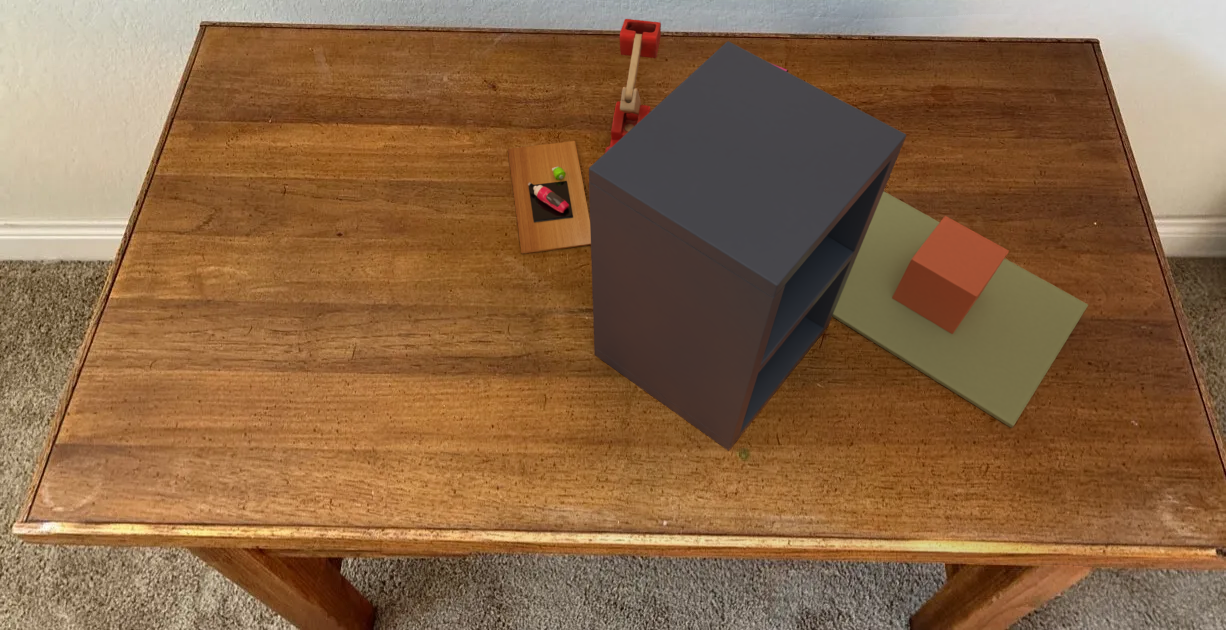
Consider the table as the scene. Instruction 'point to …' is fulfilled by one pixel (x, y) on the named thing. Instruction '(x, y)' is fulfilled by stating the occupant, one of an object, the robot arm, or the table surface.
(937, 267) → the toy block
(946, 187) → the table surface
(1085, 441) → the table surface
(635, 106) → the toy fire truck
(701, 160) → the shelf
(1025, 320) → the play mat
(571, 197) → the board
